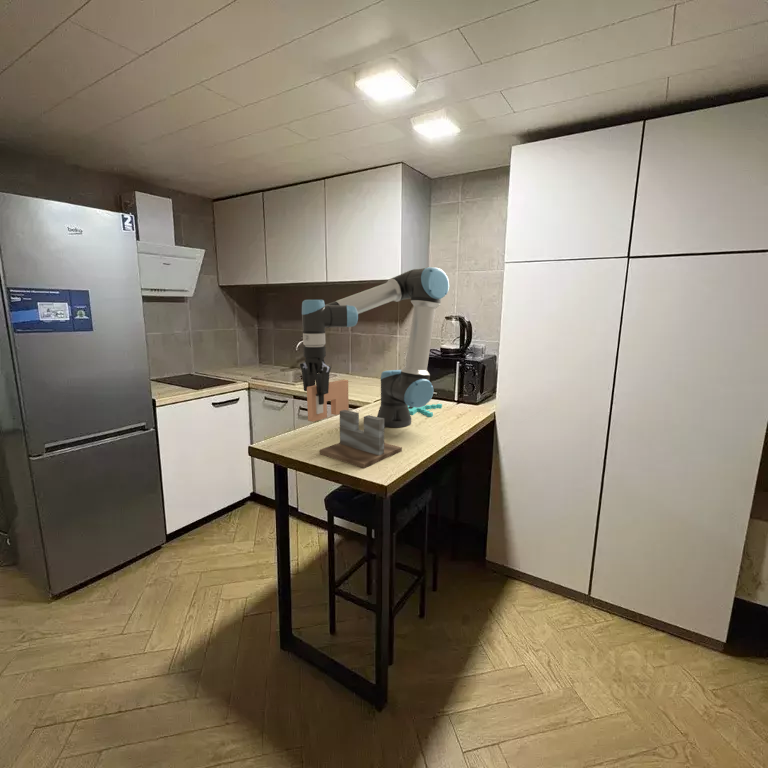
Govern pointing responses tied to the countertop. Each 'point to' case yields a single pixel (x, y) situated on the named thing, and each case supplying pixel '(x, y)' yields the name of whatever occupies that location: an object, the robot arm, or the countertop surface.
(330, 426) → the countertop surface
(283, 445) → the countertop surface
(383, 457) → the slotted stand
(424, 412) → the alien figure
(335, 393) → the terracotta plate
